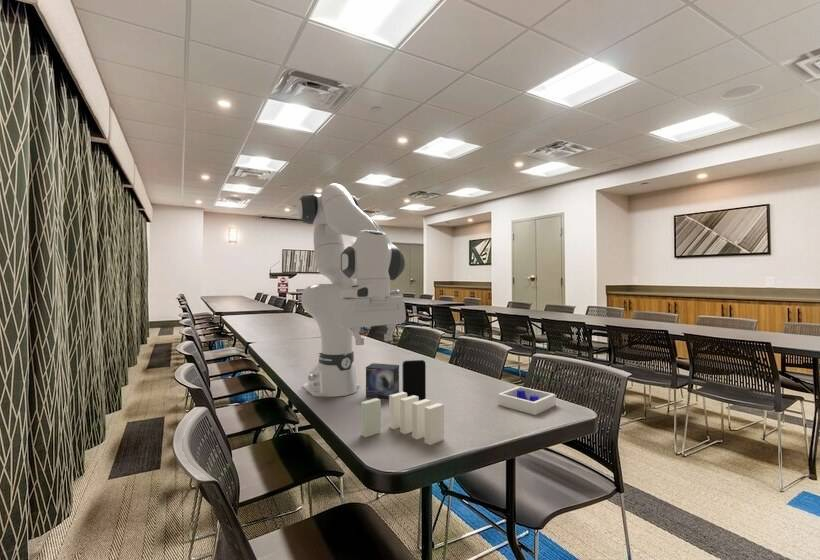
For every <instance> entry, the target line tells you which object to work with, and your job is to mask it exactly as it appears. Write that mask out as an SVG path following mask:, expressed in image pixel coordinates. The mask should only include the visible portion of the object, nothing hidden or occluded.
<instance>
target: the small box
mask: <svg viewBox="0 0 820 560" xmlns="http://www.w3.org/2000/svg"><path fill="white" fill-rule="evenodd" d="M396 393H400V365H399V364H391V363H390V364H388V363H375V362H373V363H370V364H369V365H367V366H365V396H366V397H368V398H377V399H388V400H389V395H393V394H396Z"/></svg>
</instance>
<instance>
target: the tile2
mask: <svg viewBox="0 0 820 560" xmlns="http://www.w3.org/2000/svg"><path fill="white" fill-rule="evenodd" d="M406 397H407V393H405V392H402V391H399V393H396V394H393V395H389V399H388V401H389V402H388V406H389V407H388V411H389V412H388V413H389V414H388V416H389V417H388V419H389V420H388V421H389V422H388V427H389V428H390V429H392V430H396V429H400V399H402V398H406Z"/></svg>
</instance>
